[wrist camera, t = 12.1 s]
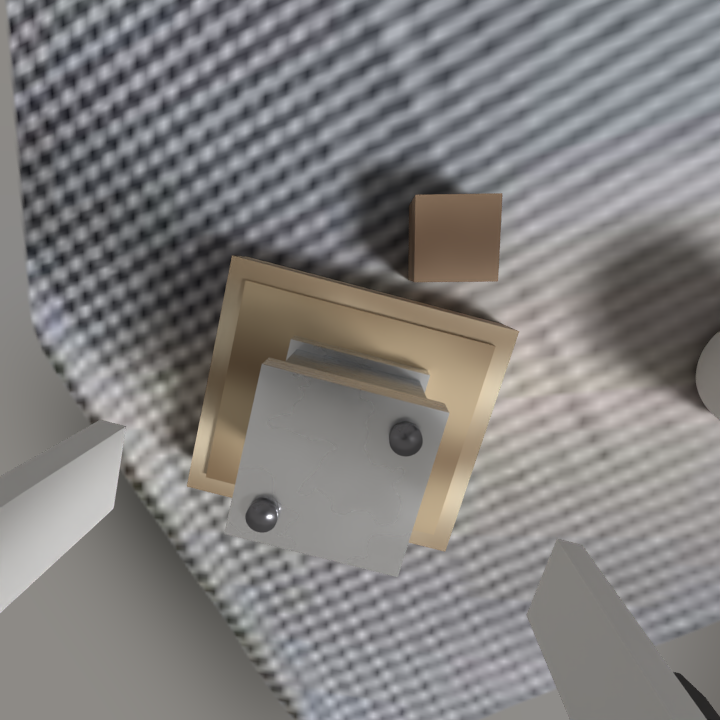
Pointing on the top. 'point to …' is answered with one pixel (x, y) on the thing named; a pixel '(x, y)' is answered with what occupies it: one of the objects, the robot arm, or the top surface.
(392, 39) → the top surface
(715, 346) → the cup
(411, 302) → the tan square tray
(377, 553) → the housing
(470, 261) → the walnut block
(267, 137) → the top surface
